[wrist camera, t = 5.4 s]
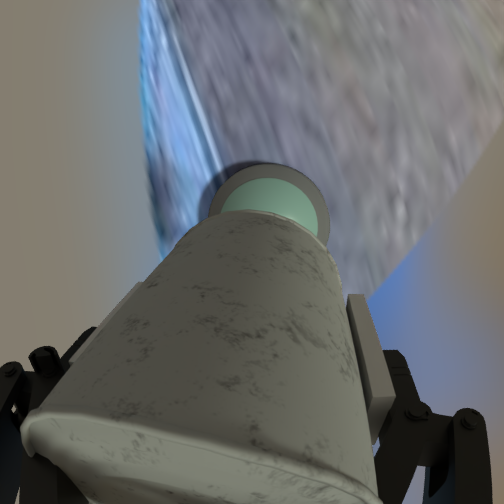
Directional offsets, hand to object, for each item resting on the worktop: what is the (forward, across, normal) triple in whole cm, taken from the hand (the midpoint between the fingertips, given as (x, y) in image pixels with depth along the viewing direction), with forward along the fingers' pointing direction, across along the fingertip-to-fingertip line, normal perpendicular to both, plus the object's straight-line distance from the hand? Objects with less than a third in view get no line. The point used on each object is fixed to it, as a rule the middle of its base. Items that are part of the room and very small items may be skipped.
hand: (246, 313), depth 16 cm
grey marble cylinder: (+2, 0, 0) cm, 2 cm away
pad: (+16, 0, 0) cm, 16 cm away
